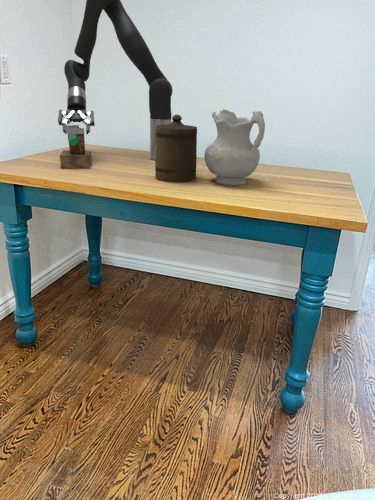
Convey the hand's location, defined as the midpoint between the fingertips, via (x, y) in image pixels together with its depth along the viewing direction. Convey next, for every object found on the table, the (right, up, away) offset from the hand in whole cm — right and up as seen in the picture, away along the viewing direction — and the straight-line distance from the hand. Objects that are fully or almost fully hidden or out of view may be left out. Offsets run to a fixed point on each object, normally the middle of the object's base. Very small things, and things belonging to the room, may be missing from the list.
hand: (76, 132), depth 167 cm
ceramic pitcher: (+61, -23, -18) cm, 68 cm away
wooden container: (+40, -21, -15) cm, 48 cm away
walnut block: (0, -13, 0) cm, 13 cm away
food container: (0, -9, -2) cm, 9 cm away
